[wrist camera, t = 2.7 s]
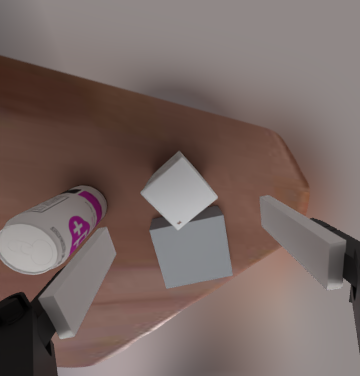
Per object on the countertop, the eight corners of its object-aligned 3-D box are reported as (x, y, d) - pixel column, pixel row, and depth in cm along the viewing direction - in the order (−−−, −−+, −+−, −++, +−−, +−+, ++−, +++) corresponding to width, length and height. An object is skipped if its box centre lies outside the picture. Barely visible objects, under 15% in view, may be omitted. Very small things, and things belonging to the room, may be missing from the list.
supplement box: (203, 177, 34) (220, 199, 22) (175, 200, 35) (177, 233, 23) (179, 148, 32) (183, 154, 20) (150, 174, 33) (138, 194, 21)
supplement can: (112, 191, 34) (67, 229, 20) (103, 226, 36) (57, 285, 22) (70, 179, 33) (-10, 210, 19) (64, 216, 35) (-12, 269, 21)
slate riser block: (152, 218, 36) (149, 230, 32) (216, 204, 36) (223, 215, 31) (167, 270, 40) (166, 288, 35) (225, 259, 40) (232, 275, 35)
